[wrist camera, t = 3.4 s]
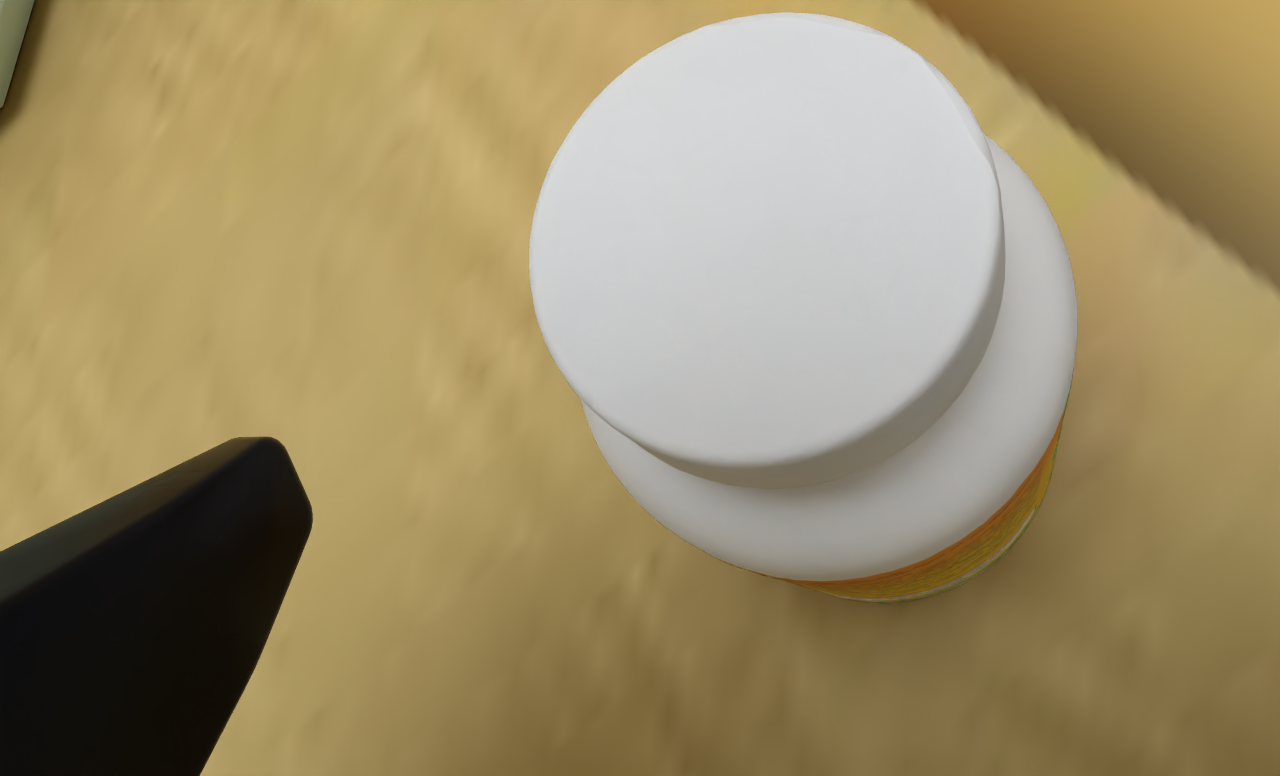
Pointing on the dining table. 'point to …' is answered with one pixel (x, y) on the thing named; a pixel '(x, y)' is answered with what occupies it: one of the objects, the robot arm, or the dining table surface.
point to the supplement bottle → (809, 306)
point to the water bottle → (11, 38)
